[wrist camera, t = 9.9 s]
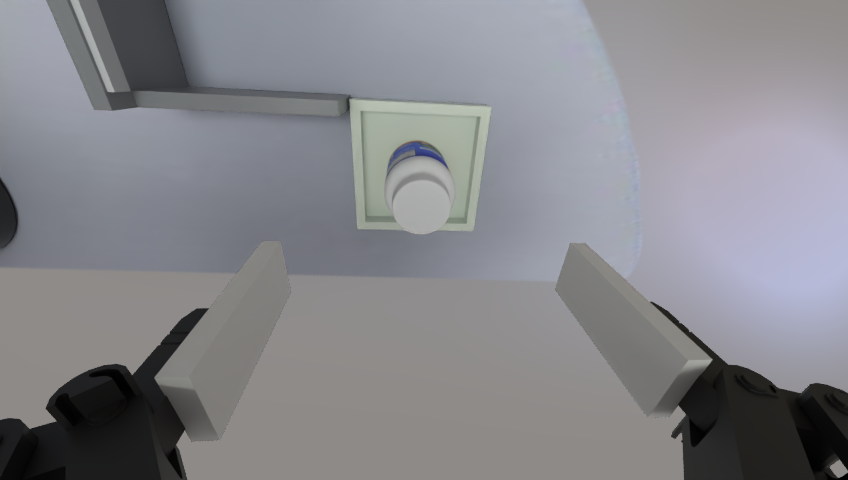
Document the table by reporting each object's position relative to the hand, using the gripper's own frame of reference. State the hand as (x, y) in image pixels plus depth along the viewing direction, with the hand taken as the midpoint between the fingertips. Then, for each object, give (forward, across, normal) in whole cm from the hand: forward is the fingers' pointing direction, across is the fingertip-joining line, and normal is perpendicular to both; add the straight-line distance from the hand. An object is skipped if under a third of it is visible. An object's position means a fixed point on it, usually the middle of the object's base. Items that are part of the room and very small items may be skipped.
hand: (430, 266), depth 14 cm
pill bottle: (+17, 0, 0) cm, 17 cm away
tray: (+17, 0, 0) cm, 17 cm away
